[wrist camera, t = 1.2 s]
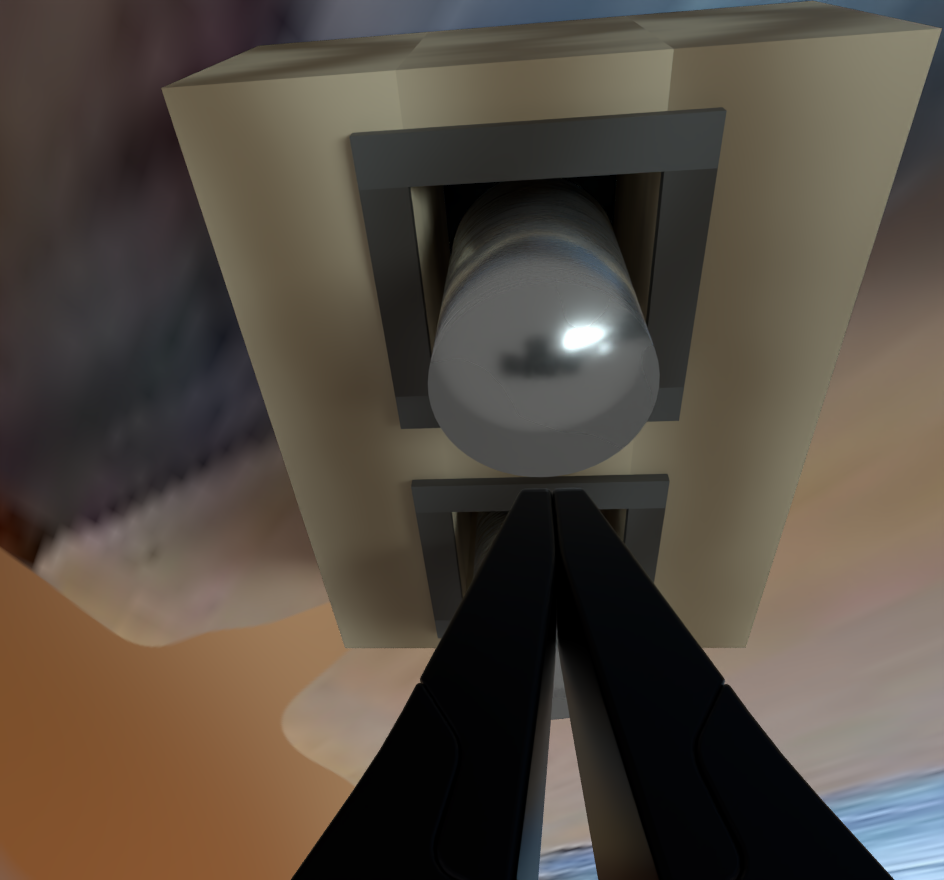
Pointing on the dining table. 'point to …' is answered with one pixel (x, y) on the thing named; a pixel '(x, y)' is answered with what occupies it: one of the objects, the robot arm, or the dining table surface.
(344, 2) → the dining table surface
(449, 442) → the jig block
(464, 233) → the peg
